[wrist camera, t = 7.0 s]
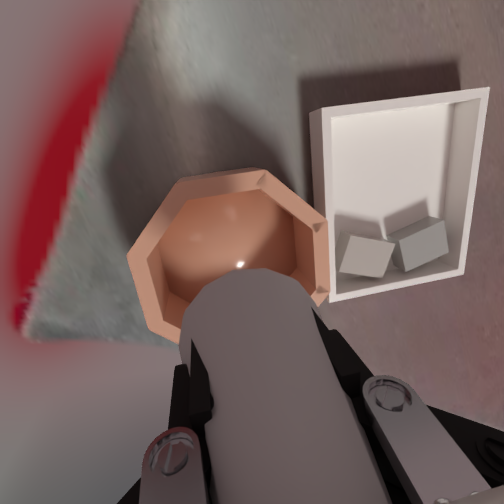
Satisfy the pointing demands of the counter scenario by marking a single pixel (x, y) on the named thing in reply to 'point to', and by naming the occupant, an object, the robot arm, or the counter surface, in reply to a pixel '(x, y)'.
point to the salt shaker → (275, 398)
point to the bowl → (225, 241)
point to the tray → (398, 177)
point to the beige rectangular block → (362, 254)
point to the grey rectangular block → (418, 243)
